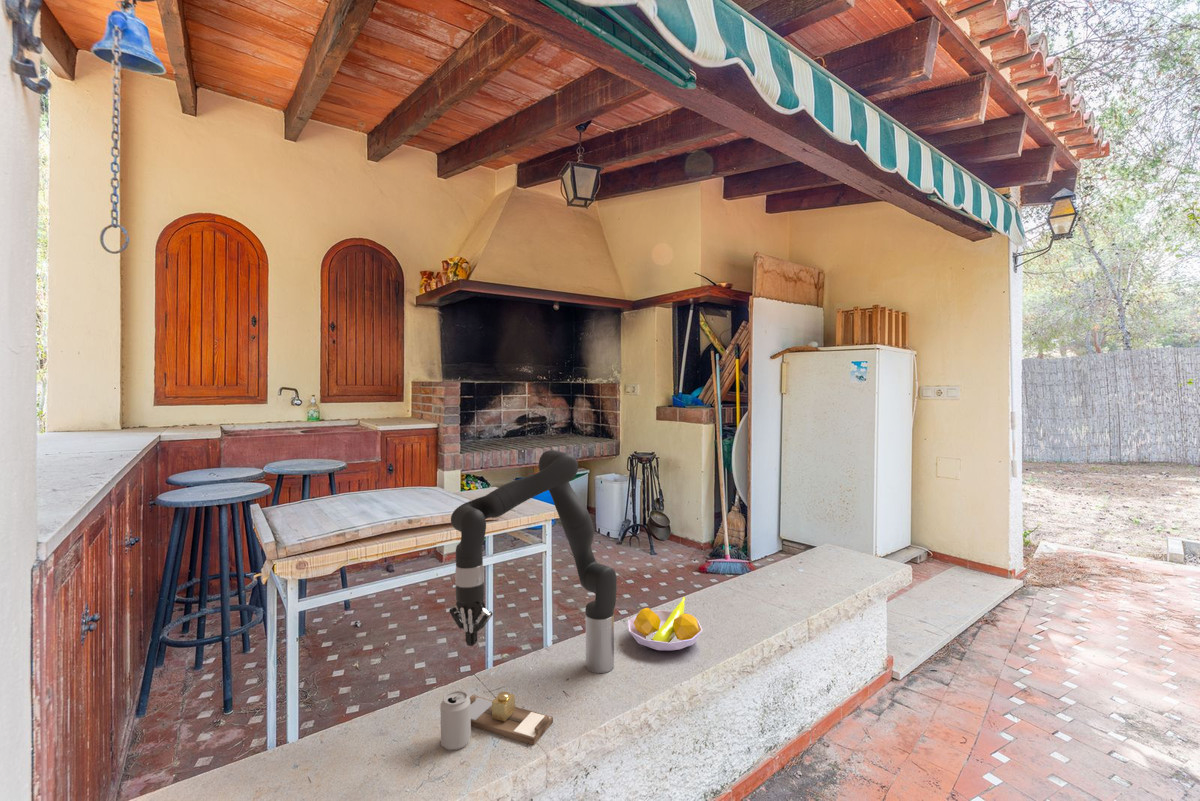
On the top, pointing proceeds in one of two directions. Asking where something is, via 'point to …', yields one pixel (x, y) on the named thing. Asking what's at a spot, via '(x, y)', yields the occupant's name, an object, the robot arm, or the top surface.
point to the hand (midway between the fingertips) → (471, 644)
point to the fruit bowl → (665, 628)
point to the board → (509, 721)
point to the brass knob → (503, 706)
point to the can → (455, 720)
